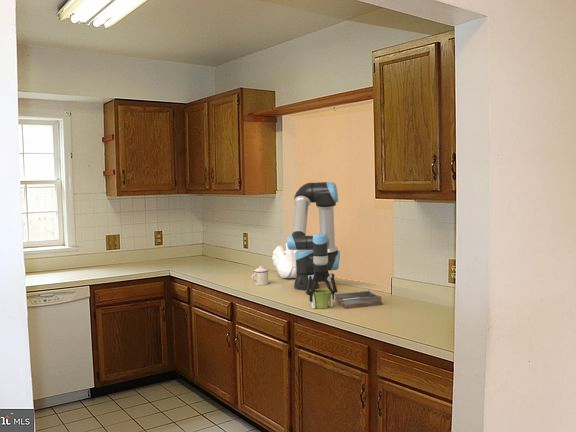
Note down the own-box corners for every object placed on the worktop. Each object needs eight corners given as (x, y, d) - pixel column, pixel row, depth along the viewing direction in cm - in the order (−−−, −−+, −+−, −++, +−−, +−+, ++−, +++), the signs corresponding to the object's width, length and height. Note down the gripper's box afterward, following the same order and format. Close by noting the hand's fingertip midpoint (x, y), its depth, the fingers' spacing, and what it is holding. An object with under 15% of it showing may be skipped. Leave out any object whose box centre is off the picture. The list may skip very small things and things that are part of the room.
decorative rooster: (307, 278, 356) (306, 241, 354) (287, 281, 348) (286, 243, 346) (288, 273, 378) (287, 238, 376) (268, 276, 369) (267, 240, 368)
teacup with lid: (262, 282, 350) (261, 264, 349) (271, 283, 343) (270, 265, 342) (247, 285, 342) (247, 266, 341) (256, 286, 335) (256, 268, 334)
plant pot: (319, 304, 284) (319, 288, 284) (334, 306, 278) (334, 290, 278) (309, 308, 277) (308, 291, 276) (324, 310, 271) (323, 293, 270)
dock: (335, 302, 287) (334, 294, 287) (369, 299, 293) (369, 290, 292) (345, 308, 273) (345, 300, 273) (381, 304, 279) (381, 296, 279)
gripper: (302, 266, 269) (304, 310, 271) (343, 263, 275) (344, 306, 277) (298, 264, 276) (299, 307, 278) (338, 261, 282) (339, 303, 284)
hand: (322, 307), depth 277 cm, fingers open, 9 cm apart
